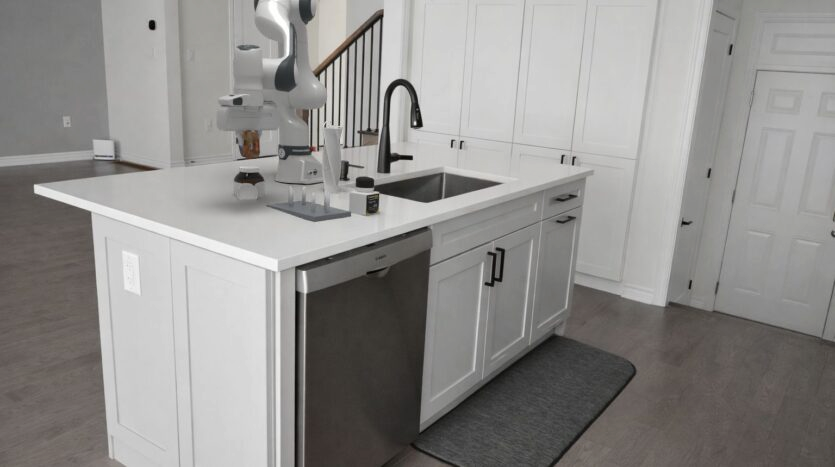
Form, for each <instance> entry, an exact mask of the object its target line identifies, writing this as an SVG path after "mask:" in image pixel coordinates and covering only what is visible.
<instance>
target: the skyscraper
mask: <svg viewBox="0 0 835 467" xmlns="http://www.w3.org/2000/svg"><path fill="white" fill-rule="evenodd" d="M327 123H329V125H328V127H325V124H327ZM342 133H343V126H342V125H338V126H337V125H332V120H327V121H325V122H324V123H323V125H322V134H323V140H324V144H323V149H322V157H321V158H322V159H321V164H322V174H323V182H322V184H323V192H324V191H328V193H329V194H335V195H336V194H339V191H338V190H339V189H338V188H339V184H340V178H341V172H342V171H341V170H342V151H341V150H342V149H341V144H340V140H341V138H342Z"/></svg>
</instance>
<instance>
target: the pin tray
mask: <svg viewBox="0 0 835 467" xmlns="http://www.w3.org/2000/svg"><path fill="white" fill-rule="evenodd" d="M301 189H302V190H301V200H297V201H294V187H293V185H288V196H287V197H288V199H287V200H288V201H286V202H279V203H270V204H266V205H265V206H266V207H267V208H270V209H273V210H277V211H279V212H283V213H286V214H288V215H291V216H294V217H297V218H300V219H303V220H306V221H311V222H315V223H316V222H321V221H328V220H334V219H341V218H348V217H351V216H352V213H351V212H350V211H349V210H345V209H342V208H341V209H340V208H337V207H332V206H330V205H331V193H328V191H324V190H323V192H324V193H323V194H324V195H323V196H324V197H323V204H318V203H316V192H315V191H313V192H311V202H310V201H307V198H306V197H307V186H302V187H301Z"/></svg>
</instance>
